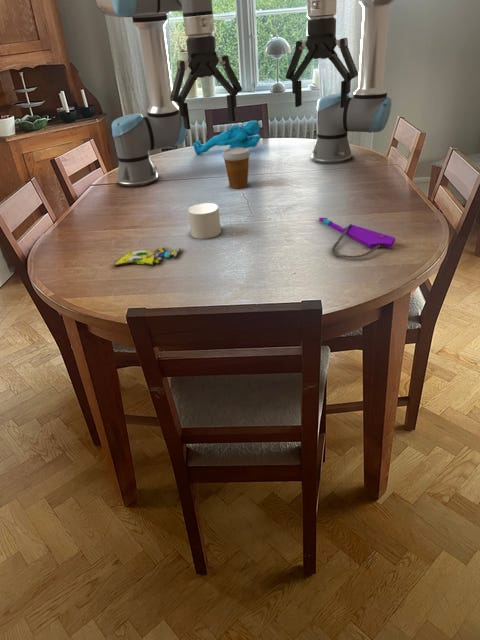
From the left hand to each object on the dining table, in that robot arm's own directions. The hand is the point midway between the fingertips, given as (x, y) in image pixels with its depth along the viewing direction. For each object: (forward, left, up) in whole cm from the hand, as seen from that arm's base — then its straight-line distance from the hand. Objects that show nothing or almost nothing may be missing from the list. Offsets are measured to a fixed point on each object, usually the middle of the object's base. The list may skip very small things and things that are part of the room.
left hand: (210, 124), depth 133 cm
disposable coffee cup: (-22, +17, -26) cm, 38 cm away
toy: (-68, +34, -26) cm, 80 cm away
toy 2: (+17, -28, -26) cm, 42 cm away
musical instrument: (+38, +19, -26) cm, 50 cm away
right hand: (+9, +30, +1) cm, 32 cm away
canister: (+11, -9, -26) cm, 30 cm away
